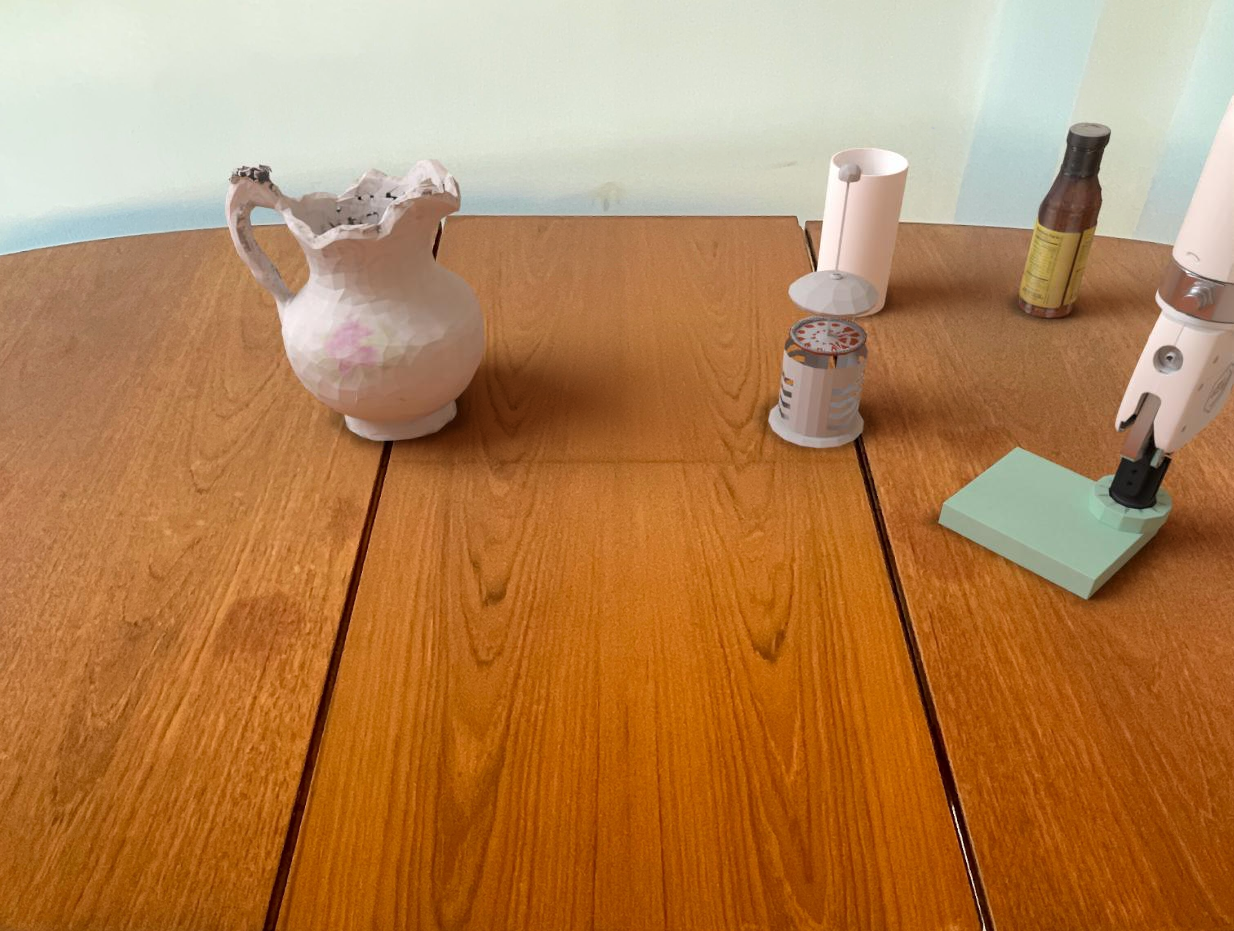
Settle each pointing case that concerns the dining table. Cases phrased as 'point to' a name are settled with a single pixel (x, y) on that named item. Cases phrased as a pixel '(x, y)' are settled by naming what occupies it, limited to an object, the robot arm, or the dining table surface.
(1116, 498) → the tare button
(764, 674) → the dining table surface
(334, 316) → the ceramic pitcher
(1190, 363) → the robot arm
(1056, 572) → the scale
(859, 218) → the white cylinder
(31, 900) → the dining table surface
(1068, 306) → the sauce bottle
